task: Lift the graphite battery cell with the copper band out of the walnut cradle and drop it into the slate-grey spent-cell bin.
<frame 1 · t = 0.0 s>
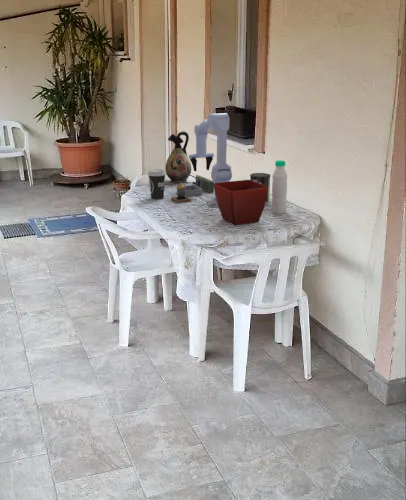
hand: (201, 170, 355), 10 cm above the table, tool pointing down, fingers open, 7 cm apart
water bottle: (278, 212, 304), on the table
handheld radio: (202, 189, 357), on the table
coffee cup: (157, 198, 333), on the table
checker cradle: (181, 201, 327), on the table
battery cell: (181, 200, 327), resting on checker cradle
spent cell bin: (189, 194, 343), on the table
coffee can: (259, 201, 325), on the table
plant pot: (240, 221, 289), on the table
ceramic jug: (179, 182, 376), on the table
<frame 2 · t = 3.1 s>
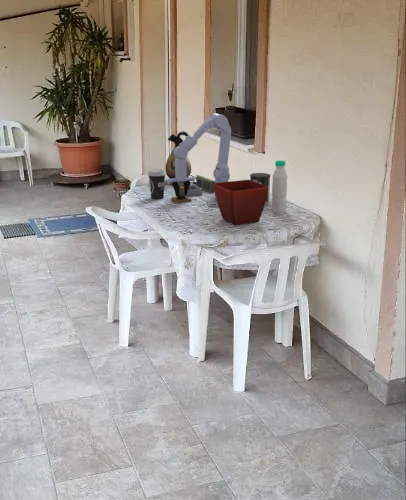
hand: (181, 195, 326), 3 cm above the table, tool pointing down, fingers closed on battery cell, 4 cm apart
battery cell: (181, 200, 327), resting on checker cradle, touching gripper
everything else where it was.
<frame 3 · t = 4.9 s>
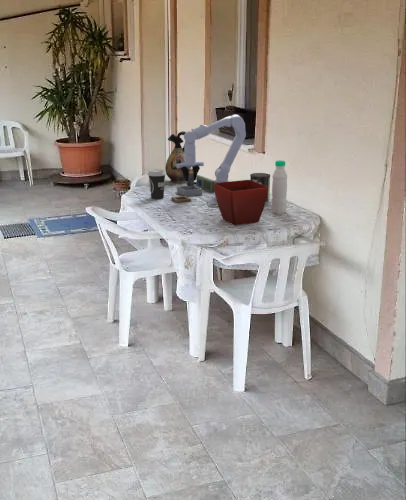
hand: (190, 180, 329), 10 cm above the table, tool pointing down, fingers closed on battery cell, 4 cm apart
battery cell: (190, 185, 330), point 7 cm above the table, touching gripper
everything else where it was.
when the fingers open (5 cm above the table, at t = 6.9 s): battery cell drops 2 cm, resting on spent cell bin.
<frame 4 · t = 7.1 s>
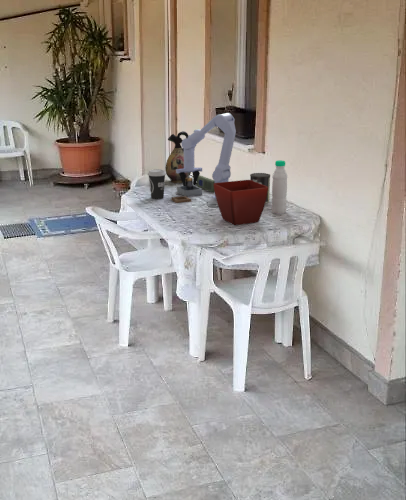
hand: (189, 185, 342), 5 cm above the table, tool pointing down, fingers open, 5 cm apart
battery cell: (189, 192, 343), point 1 cm above the table, tilted 6°, touching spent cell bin
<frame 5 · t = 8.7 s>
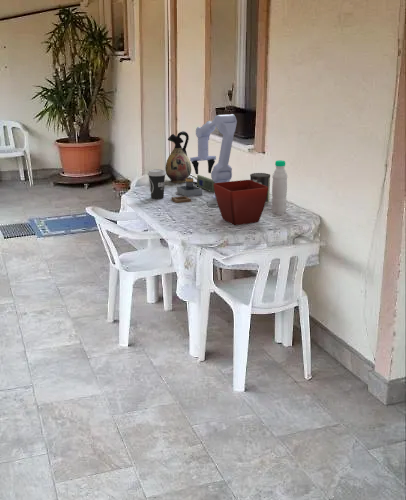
hand: (203, 173, 347), 10 cm above the table, tool pointing down, fingers open, 7 cm apart
battery cell: (189, 193, 343), point 1 cm above the table, touching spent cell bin
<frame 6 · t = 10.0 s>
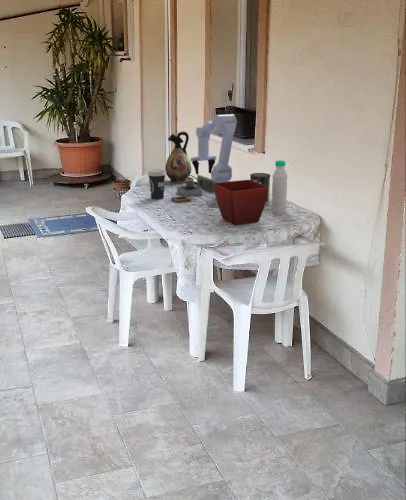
hand: (203, 173, 347), 10 cm above the table, tool pointing down, fingers open, 7 cm apart
at the end: battery cell inside the target area on the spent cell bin (0.1 cm from its centre), point 0.6 cm above the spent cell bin's base; the gripper is holding nothing; battery cell moved 17.2 cm from its start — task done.
